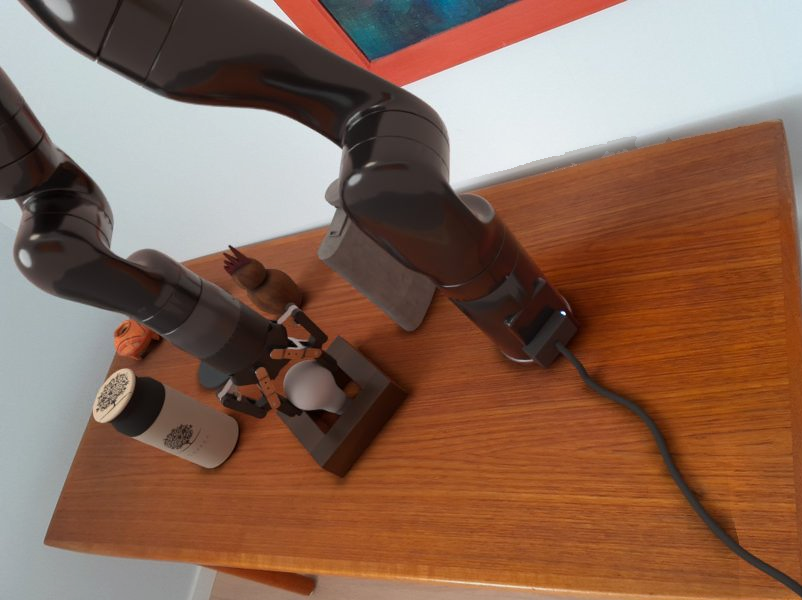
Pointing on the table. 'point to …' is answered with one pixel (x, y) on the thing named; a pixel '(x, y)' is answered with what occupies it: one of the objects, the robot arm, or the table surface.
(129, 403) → the travel mug
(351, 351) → the bulb stand
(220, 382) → the coaster
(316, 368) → the lightbulb
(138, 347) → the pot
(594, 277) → the table surface
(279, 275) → the wooden figurine
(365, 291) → the hip flask
